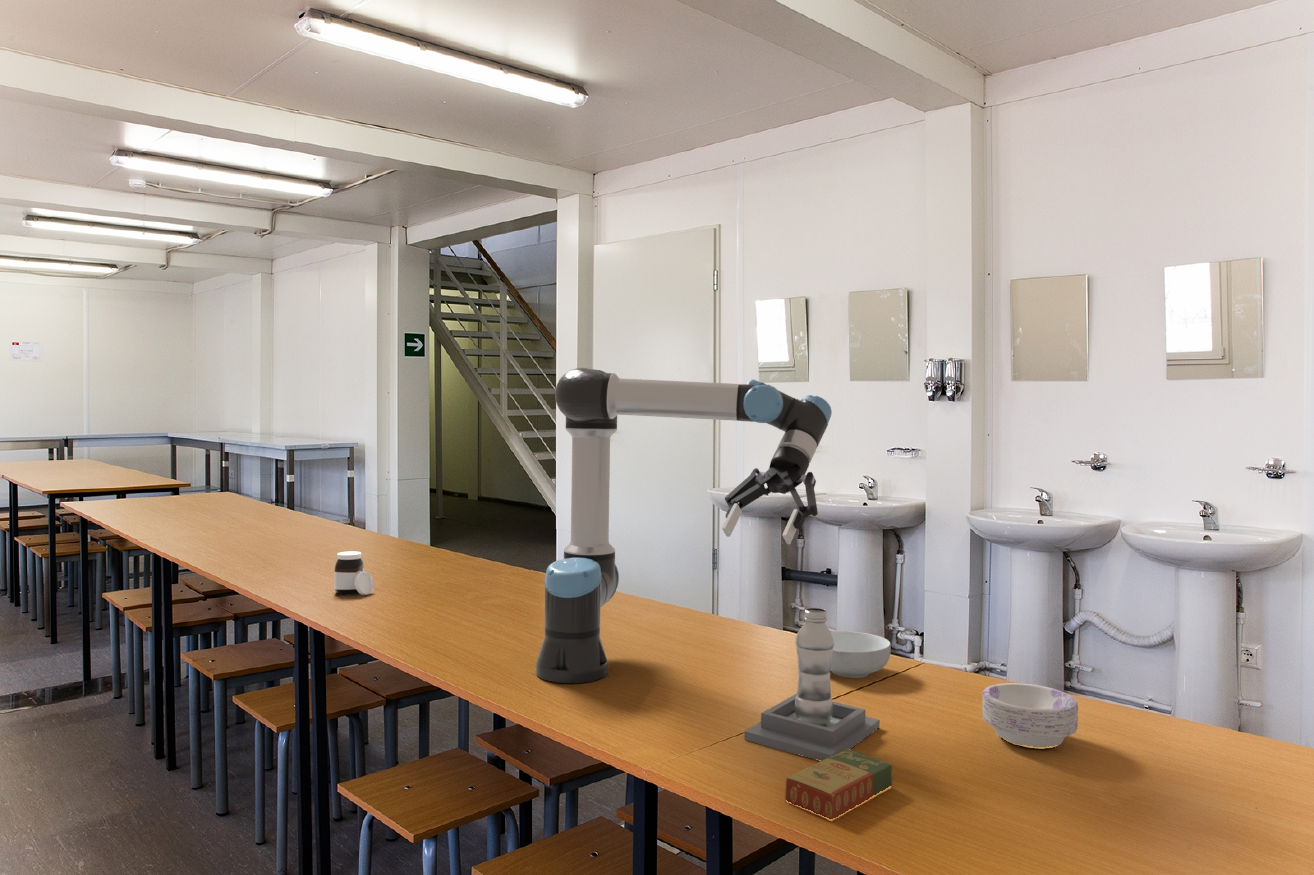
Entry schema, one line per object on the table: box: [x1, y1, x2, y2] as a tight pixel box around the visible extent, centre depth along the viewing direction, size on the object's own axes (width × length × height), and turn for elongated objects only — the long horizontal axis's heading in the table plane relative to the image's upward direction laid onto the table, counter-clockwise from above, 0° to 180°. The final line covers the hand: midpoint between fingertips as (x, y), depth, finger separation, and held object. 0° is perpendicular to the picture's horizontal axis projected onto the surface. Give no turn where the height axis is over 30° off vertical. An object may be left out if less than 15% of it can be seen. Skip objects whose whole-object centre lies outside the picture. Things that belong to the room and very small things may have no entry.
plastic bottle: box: [794, 607, 834, 726], centre depth 149 cm, size 6×7×20 cm
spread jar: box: [333, 550, 375, 596], centre depth 254 cm, size 12×11×12 cm
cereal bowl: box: [830, 630, 892, 679], centre depth 185 cm, size 17×17×7 cm
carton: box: [784, 749, 893, 819], centre depth 126 cm, size 8×16×4 cm, turn 135°
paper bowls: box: [982, 682, 1079, 747], centre depth 149 cm, size 15×15×8 cm
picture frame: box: [744, 693, 881, 761], centre depth 150 cm, size 20×16×4 cm
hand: (755, 536), depth 168 cm, fingers open, 13 cm apart
